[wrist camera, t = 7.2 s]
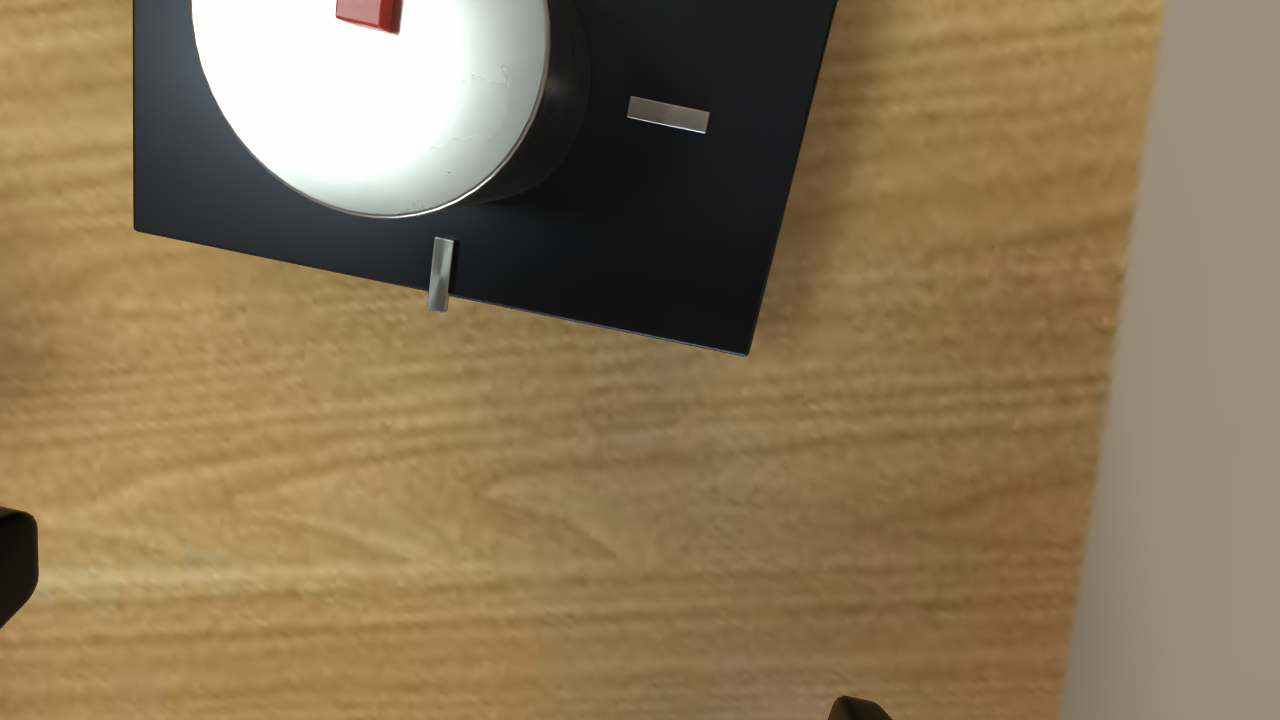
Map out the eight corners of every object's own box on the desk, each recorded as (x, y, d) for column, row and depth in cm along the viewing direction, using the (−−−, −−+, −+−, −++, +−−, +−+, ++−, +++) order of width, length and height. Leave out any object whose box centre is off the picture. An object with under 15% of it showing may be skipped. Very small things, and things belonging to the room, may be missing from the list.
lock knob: (566, 226, 13) (512, 255, 9) (331, 173, 13) (165, 179, 9) (614, -38, 12) (578, -148, 8) (354, -95, 12) (174, -239, 7)
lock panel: (833, -75, 14) (875, -141, 11) (733, 335, 16) (745, 375, 13) (242, -197, 14) (121, -296, 11) (228, 232, 16) (125, 248, 13)
